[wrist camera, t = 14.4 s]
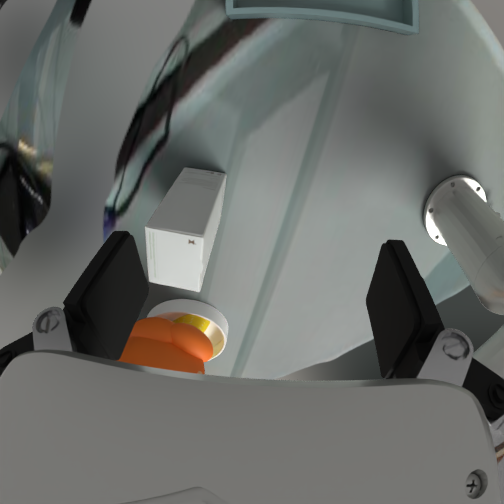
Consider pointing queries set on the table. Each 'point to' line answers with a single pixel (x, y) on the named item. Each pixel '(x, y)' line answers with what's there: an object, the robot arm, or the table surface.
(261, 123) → the table surface
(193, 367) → the potted cactus
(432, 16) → the table surface
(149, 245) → the skincare box
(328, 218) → the table surface
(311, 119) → the table surface
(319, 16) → the teal tray
